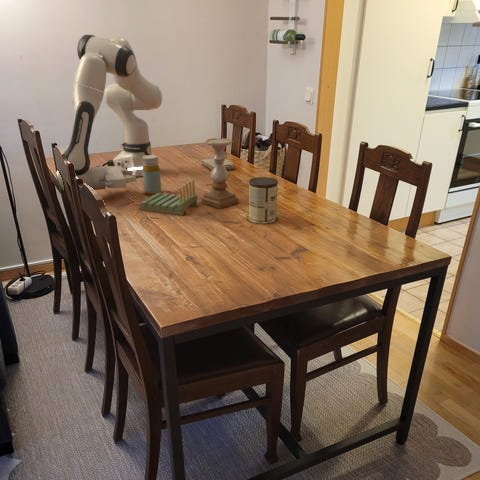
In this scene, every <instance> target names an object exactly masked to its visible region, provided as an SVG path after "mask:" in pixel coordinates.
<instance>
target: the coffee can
mask: <svg viewBox="0 0 480 480" xmlns="http://www.w3.org/2000/svg"><path fill="white" fill-rule="evenodd" d="M248 183H249V184H248V221H250V222H252V223H254V224H263V225H264V224H271V223H274V222H275V221H277V205H278V204H277V203H278V202H277V201H278V184H279V180H278V179H276V178H273V177H268V176H267V177H266V176H259V177H253V178H250V179H249V180H248Z"/></svg>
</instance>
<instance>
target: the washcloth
mask: <svg viewBox="0 0 480 480" xmlns="http://www.w3.org/2000/svg"><path fill="white" fill-rule="evenodd" d="M200 163H201V164H202V165H203V166H205V167H207V168H208V169H209V170H211V171H212V170H213V168H214V166H215V162H214V160H213V159H212V158H205V159H204V158H203V159H202V160H201V161H200ZM224 167H225V169H226V171H229V170H230V171H231V170H234V169H235V167H234V163H233V162H232V161H231V160H229V159H227V158H226V159H225V161H224Z"/></svg>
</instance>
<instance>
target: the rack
mask: <svg viewBox="0 0 480 480" xmlns="http://www.w3.org/2000/svg"><path fill="white" fill-rule="evenodd" d="M189 206H190V207H197V206H198V194H197V193H196V187H195V179H191V180H189V181H188V182H185V184H182V185H181V186H179V187H178V194H177V195H176V194H173V193H171V194H170V193H166V192H164V193H163V192H161V193H156V194H155V195H150V196H149V197H148V198H146V199H144V200H142V201H140V204H139V207H140V208H139V209H140V210H141V211H149V212H155V213H161V214H170V215H177V216H184V215H185V209H186V208H188V207H189Z"/></svg>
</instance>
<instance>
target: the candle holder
mask: <svg viewBox="0 0 480 480" xmlns="http://www.w3.org/2000/svg"><path fill="white" fill-rule="evenodd" d="M205 144H206V145H208V146H211V147H212V149H213V152H214V154H213V155H212V158H211V159H213V160H214V162H215V166H214V168H213V170H211V171H210V174H209V178H210V180H211V181H212V183H211V188H212V189H211V190H210V191H209V192H207V193H204V194H203V196H202V197H201V198H200V203H201V204H204V205H207V206H210V207H214V208H216V209H224V208H226V207H229V206H233V205H235V204H238V203H239V197H237V196H236V194H235V193H232V192H230V191H229V190H227V188H228V184H227V181H228V180H229V177H230V176H229V172H228V170H226V169H225V167H224V161H225V159H227V157H226V155H225V154H224V153H225V149H226V148H227V146H230V145H232V144H233V140H232V139H230V138H226V137H225V138H224V137H212V138H208V139H206V140H205Z"/></svg>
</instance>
